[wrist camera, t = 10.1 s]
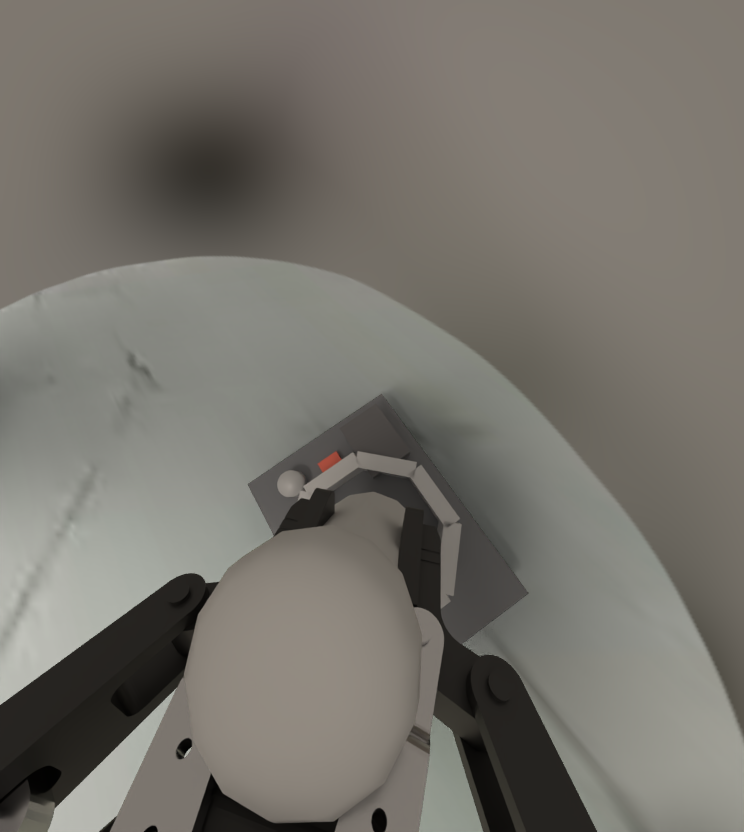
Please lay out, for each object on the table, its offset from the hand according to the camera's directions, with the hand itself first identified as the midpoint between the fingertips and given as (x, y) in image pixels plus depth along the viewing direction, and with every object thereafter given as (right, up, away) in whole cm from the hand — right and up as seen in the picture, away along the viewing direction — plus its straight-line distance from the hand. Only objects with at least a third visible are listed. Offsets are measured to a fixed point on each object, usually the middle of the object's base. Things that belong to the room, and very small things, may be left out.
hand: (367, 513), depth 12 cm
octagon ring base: (+1, -5, +10) cm, 11 cm away
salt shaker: (0, -3, +5) cm, 6 cm away
